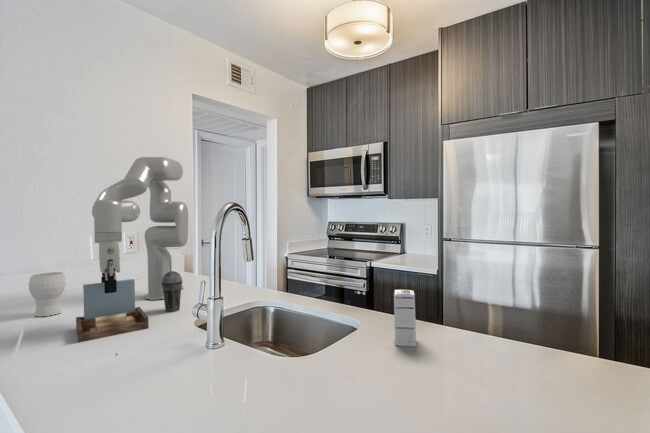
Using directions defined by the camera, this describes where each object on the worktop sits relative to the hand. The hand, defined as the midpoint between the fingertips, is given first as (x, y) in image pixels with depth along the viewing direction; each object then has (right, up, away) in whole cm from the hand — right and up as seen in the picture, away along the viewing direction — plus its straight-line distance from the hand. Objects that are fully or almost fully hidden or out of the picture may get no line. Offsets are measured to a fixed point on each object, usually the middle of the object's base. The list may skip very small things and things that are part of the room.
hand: (108, 290), depth 110 cm
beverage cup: (+14, -12, +16) cm, 24 cm away
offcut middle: (+5, -10, -5) cm, 12 cm away
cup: (-33, -13, +16) cm, 39 cm away
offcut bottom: (+5, -12, -5) cm, 13 cm away
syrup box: (+93, -12, -14) cm, 95 cm away
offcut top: (+4, -9, -5) cm, 11 cm away
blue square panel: (0, -12, +1) cm, 12 cm away
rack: (+3, -13, -3) cm, 13 cm away
